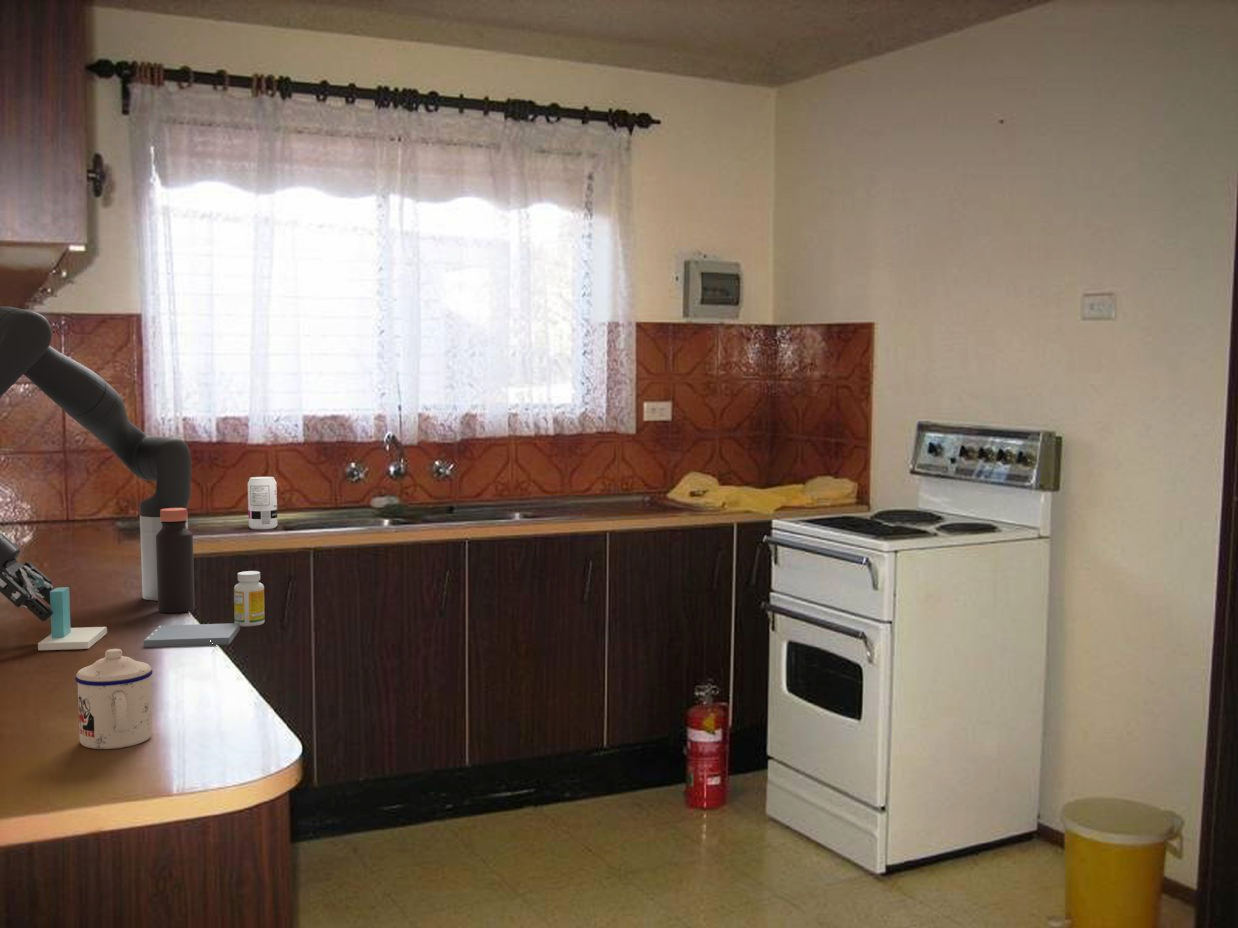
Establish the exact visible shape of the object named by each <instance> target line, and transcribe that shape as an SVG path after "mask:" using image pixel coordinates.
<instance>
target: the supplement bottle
mask: <svg viewBox="0 0 1238 928" xmlns="http://www.w3.org/2000/svg"><path fill="white" fill-rule="evenodd" d="M237 581H238V583H236V584H235V585H234V588H233V606H234V607H233V608H234V609H233V611H234V615H233V616H234V618H233V619H234V623H240V627H254V626H255V627H256V626H260V625H261V626H262V625H263V624H264V623H265V586H264V583H261V582H259V581H261V572H260V571H258V570H248V571H246V570H244V571H241V572H239V571H238V572H237Z"/></svg>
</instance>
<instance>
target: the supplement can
mask: <svg viewBox="0 0 1238 928" xmlns="http://www.w3.org/2000/svg"><path fill="white" fill-rule="evenodd" d="M277 487H278V483H277V481H276V479H275V477H274V476H253V477H252V476H251V477H249V479H248V481H247V506H248V507H247V509H248V511H247V512H248V514H247V515H248V527H249V528H250V529H251V530H260V531H261V530H272V529H275V528H276V527H277V526H278V524H279V523H278V495H277V494H278V488H277Z"/></svg>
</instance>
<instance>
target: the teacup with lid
mask: <svg viewBox="0 0 1238 928" xmlns="http://www.w3.org/2000/svg"><path fill="white" fill-rule="evenodd" d="M104 653H105V654H104V657H102V658H100V659H97V660H96V661H95V662H93V663H92V664H90V665H88V666H85V667H82V668H81V669H79V670H78V671H77V673H76V675H75V677H74V678H75V682H77V700H78V704H77V705H78V726H79V727H78V729H79V734H78V735H79V743H80V745H82V746H83V747H86V748H88V749H95V750H115V749H124V748H128V747H132V746H136V745H140V744H141V743H144V742H146V741H148V740H149V739H151V737H152V736H153V711H152V710H153V709H152V708H153V707H152V706H153V705H152V678H151V677H152V675H153V669H152V667H151V665H149V664H148V663H147V662H142V661H139V660H135V659H134V658H131V657H129V656H124V655H123V651H122V649H120V648H111V649H110V648H109V649H107V650H105V652H104Z"/></svg>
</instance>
